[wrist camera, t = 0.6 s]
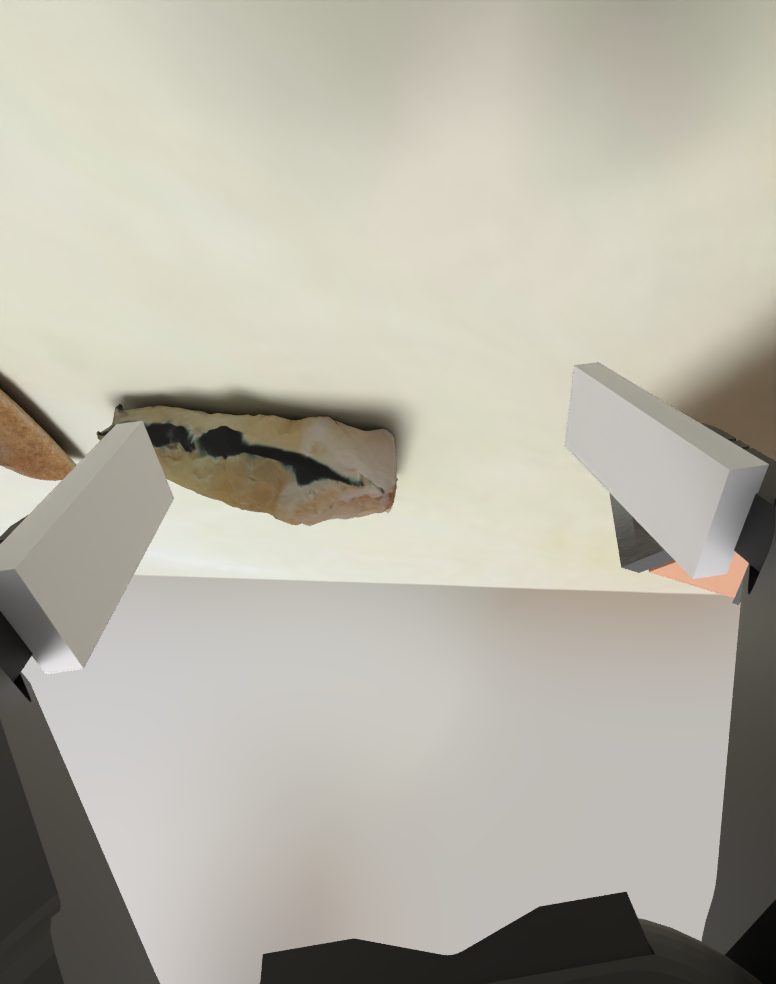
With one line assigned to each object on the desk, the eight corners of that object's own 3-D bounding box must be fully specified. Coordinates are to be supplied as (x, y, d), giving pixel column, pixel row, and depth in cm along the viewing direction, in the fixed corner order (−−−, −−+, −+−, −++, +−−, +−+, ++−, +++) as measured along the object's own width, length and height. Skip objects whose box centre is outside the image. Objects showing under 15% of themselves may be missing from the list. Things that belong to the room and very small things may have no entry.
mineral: (100, 511, 43) (49, 431, 36) (150, 443, 49) (115, 362, 41) (383, 564, 42) (393, 493, 34) (399, 488, 48) (410, 413, 40)
